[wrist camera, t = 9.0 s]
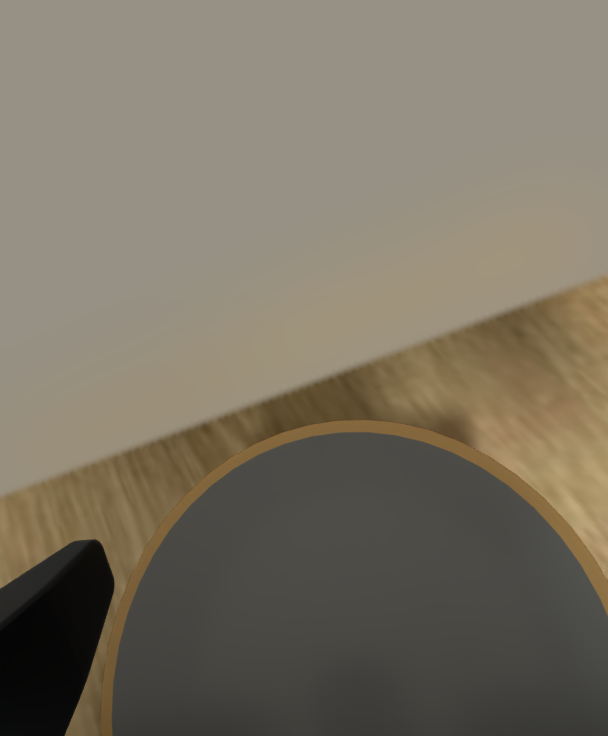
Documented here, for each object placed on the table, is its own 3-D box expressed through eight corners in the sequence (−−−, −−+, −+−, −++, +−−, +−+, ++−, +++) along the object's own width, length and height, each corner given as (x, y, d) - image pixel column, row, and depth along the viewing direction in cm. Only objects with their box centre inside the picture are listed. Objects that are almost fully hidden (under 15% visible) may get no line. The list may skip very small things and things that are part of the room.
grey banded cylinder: (492, 701, 14) (793, 1045, 3) (334, 727, 15) (91, 1108, 4) (449, 535, 16) (538, 372, 5) (308, 562, 17) (95, 466, 5)
